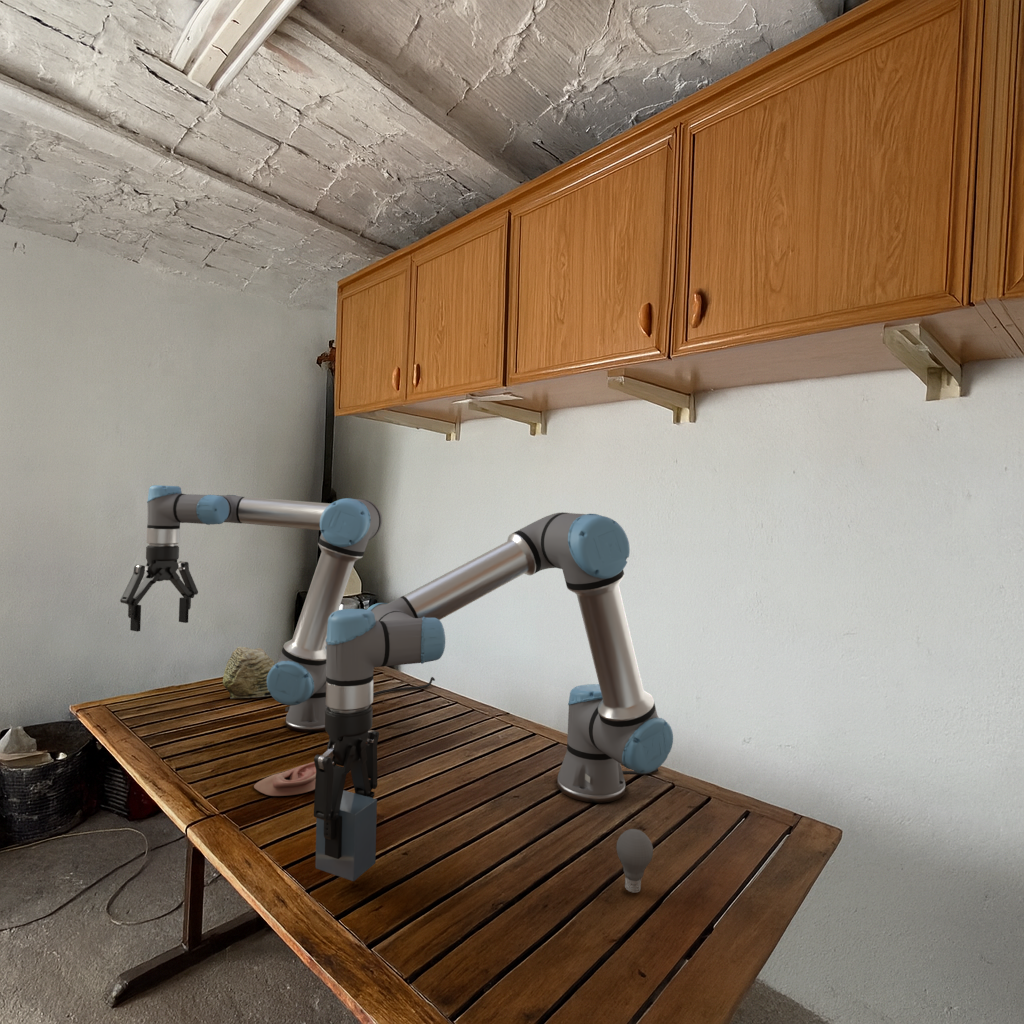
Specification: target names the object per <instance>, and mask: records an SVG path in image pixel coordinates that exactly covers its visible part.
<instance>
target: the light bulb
mask: <svg viewBox="0 0 1024 1024" xmlns="http://www.w3.org/2000/svg"><path fill="white" fill-rule="evenodd" d="M615 849H616V854H617V857H618V859H619V861H620V863H621V865H622V867H623V873H624V874H623V875H624V876H625V878H624V888H625V890H627V891H628V892H630V893H634V894H635V893H639V892H640V891H641V889H642V887H641V886H642V879H643V877H644V875H645V871H646V868H647V867H648V866H649V864H650V863H651V861H652V859H653V855H654V847H653V843H652V841H651V838H649V836H648V835H647V834H646V833H645V832H643V831H642V830H641V829H636V828H629V829H627V830H625V831H623V832H622V833H621V834H620V835H619V837H618V839H617V841H616V847H615Z"/></svg>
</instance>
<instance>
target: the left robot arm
mask: <svg viewBox="0 0 1024 1024" xmlns="http://www.w3.org/2000/svg"><path fill="white" fill-rule="evenodd" d="M146 503H147V523H146V524H147V525H146V544H148V545H147V546H146V547H145V559H146V564H145V565H141V564H135V565H133V573H132V576H131V577H130V579H129V581H128V584H127V586H126V587H125V589H124V592H123V593H122V595H121V597H120V599H119V602H120V603H121V604H126V605H127V607H128V608H127V617H128V618H129V619H130V627H129V630H130V631H132V632H141V625H142V624H141V621H142V619H141V618H142V605H141V604H139V603H140V602H141V601H142V599H143V598H144V597H145V595H146V594H147V593H148V592H149V590H150V589H151V587H152V586H153V585H154V584H156V583H157V582H163V581H170V583H171V584H172V585H173V586H174V587H175V589H176V590H177V591H178V592H179V593H180V595H181V597H179V601H178V605H179V606H178V622H179V623H183V624H184V623H185V624H187V623H189V610H191V607H192V599H194V598H195V595H196V596H197V595H198V594H199V590H198V588H197V585H196V583H195V580H194V578H193V576H192V574H191V571H190V568H189V567H190V565H189V562H188V561H182V560H180V561H178V560H179V558H180V546H179V545H178V544H180V543H181V540H180V539H181V524H197V525H208V526H210V525H221V524H224V523H231V524H243V525H244V524H247V525H255V526H256V525H257V526H268V527H278V528H279V527H281V528H292V529H301V530H312V531H313V530H314V531H320V536H319V538H318V542H317V545H318V547H319V549H320V551H321V552H320V556H319V558H318V561H317V565H316V567H315V570H314V574H313V576H312V579H311V582H310V585H309V588H308V591H307V594H306V597H305V600H304V603H303V606H302V609H301V612H300V615H299V617H298V621H297V624H296V627H295V630H294V633H293V635H292V639H290V640H288V641H285V642H284V644H283V645H282V649H281V652H280V654H279V657H278V661H277V662H276V663H275V665H274V666H273V667H272V668H271V670H270V671H269V673H268V676H267V688H268V691H269V692H270V694H271V696H270V697H272V699H274V700H275V701H276V702H277V703H279V704H282V705H285V706H286V707H285V712H287V713H286V715H285V726H286V728H287V729H289V730H291V731H294V732H295V731H296V732H301V733H316V732H326V730H325V710H326V708H327V707H328V706H327V705H326V638H327V626H328V618H329V616H330V615H331V614H332V613H333V612H335V611H338V610H340V607H341V603H342V601H343V597H344V594H345V592H346V589H347V586H348V582H349V580H350V578H351V574H352V571H353V568H354V565H355V562H356V561H358V560H361V559H362V558H363V557H364V554H365V551H366V548H367V546H368V543H369V541H371V540H372V539H373V538H375V537H376V536H377V535H378V534H379V532H380V531H381V529H382V526H383V517H382V516H383V515H382V512H381V510H380V509H379V507H378V506H377V505H376V504H375V503H373V501H371V500H368V499H364V498H352V497H348V498H347V497H346V498H345V497H344V498H340V499H337V500H335V501H333V502H331V503H330V502H329V503H328V502H317V501H303V500H292V499H279V498H268V497H267V498H265V497H254V496H242V495H241V496H240V495H235V494H222V495H221V494H193V493H191V494H189V493H188V494H187V493H183V492H182V488H181V486H178V485H157V484H154V485H151V486H150V487H149V488H148V494H147V500H146ZM177 571H178V572H179V574H180V575H179V574H178V573H177ZM181 579H182V580H181ZM433 681H434V682H435V681H436V679H435V678H434V677H433V676H431V677H430V680H429V682H428V683H427V684H425V685H424V684H423V685H417V686H406V687H399V688H398V687H397V688H388V689H383V690H378V691H376V692H373V697H374V696H376V695H380V694H384V693H392V692H400V691H409V690H420V689H425V688H426V689H427V688H428V687H430V686H431V685H432V683H433Z"/></svg>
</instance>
